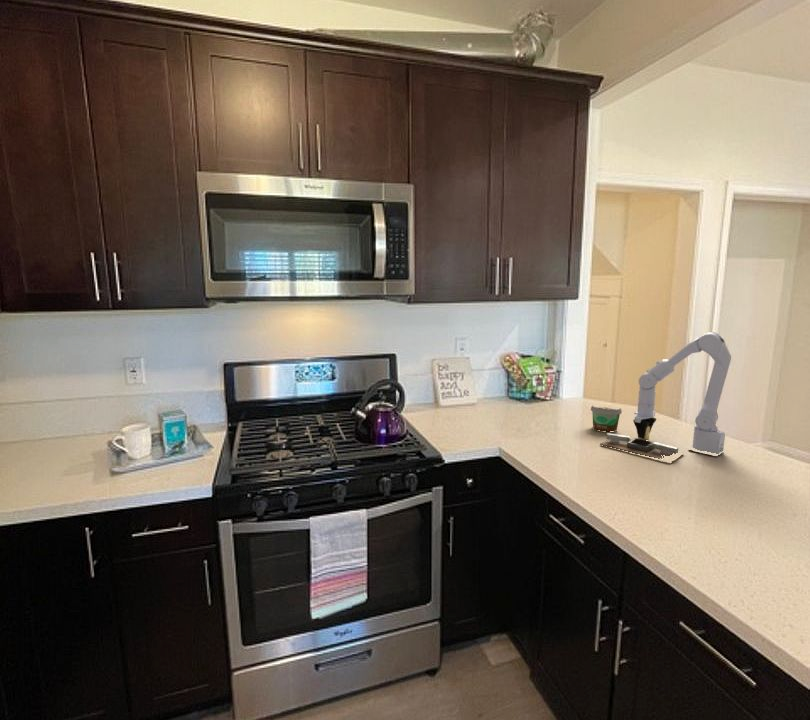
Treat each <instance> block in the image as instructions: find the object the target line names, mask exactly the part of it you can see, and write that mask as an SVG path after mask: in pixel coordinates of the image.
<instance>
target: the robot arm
mask: <svg viewBox="0 0 810 720" xmlns="http://www.w3.org/2000/svg"><path fill="white" fill-rule="evenodd" d="M702 351H703V352H704V353H706V354H708V355H709V356H710V357H711V359H712V360H713V361H714V363H713V367H712V371H711V374H710V378H709V382H708V385H707V390H706V392H705V396H704V400H703V403H702V406H701V409H700V410H699V412H698V414H697V415H696V417H695V421H694V422H695V423H694V424H695V425H694V428H693V436H692V437H693V438H692V439H693V440H692V446H691V447H693V448H695V449H697V450H700V451H707V452H711V453H716V454H719V453H720V452H722V451H724V447H725V441H726V434H725V432H724V431H721V430H719V429H718V428H719V427H718V426H717V425H716V424H717V421H718V420H719V414H718V408H719V404H720V400H721V395H722V393H723V389H724V386H725V382H726V378H727V374H728V371H729V367H730V364H731V361H732V355H731V353H730V351H729V349H728V346H727V345H726V341H725V339H724V338H723V337H722V336H721V335H720V334H719V333H718V332H715V331H709V332H706V333H704V334H703V335H701V336H699V337H697V338H696V339H694V340H692V341H691V342H688V343H687V344H686V345H684V347H683V348H681V349H680V350H679V351H678V352H677V353H675V354H674V355H672V356H671V357H670V358H669V359H661V360H658V361H656V364H655V365H654V366H652V367H650V369H649V368H648V369H646V370H645V371H646V372H645V373H643V374H641V376H640V377H638V378H639V379H638V384H639V391H638V400H637V411H635V412H634V415H635V417H634V419H633V420H632V421H633V423H634V426H635V429H636V434H637V438H638V437H639V438H644V437H645V433H646V429H647V427H648V425H649V426H650V433H649V435H651V431H652V428H653V426H654V424H655V423H656V421H657V418H655V416H656V410H655V403H656V402H655V401H656V386H657V385H658V383H659V382H661V381H663V380H664V379H665V378H666V377H668V376H669V375H670V374H672V373H673V372H675V366H676V365H678V364H679V363H681V362H682V361H683V360H685V359H686V358H688V357H689V356H690V355H692V354H696V353H697V354H698V353H701V352H702Z"/></svg>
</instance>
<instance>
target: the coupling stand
mask: <svg viewBox="0 0 810 720" xmlns="http://www.w3.org/2000/svg"><path fill="white" fill-rule="evenodd" d="M600 445H603V446H607V447H612V448H616V449H620V450H624V451H628V452H632V453H635V454H640V455H645V456H649V457H654V458H658V459H660V458H661V459H662V456H663V455H665V456H670V455H672V454H673V453H674V454H676V453H678V451H679V447H677V446H672V445H669V444H668V445H667V444H664V443H660V442H657V441H656V442H655V441H654V442H653V441H650V440H649V441H646V440H642V439H638V437H637V438H636V437H635V438H633V439H631V436H630V435H623V434H618V433H617V434H616V433H607V432H606V440H603V441H602V442H600V443H599V446H600ZM603 446H602V447H603ZM607 447H606V448H607ZM661 455H662V456H661ZM663 458H664V456H663Z"/></svg>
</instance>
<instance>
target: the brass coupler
mask: <svg viewBox="0 0 810 720" xmlns="http://www.w3.org/2000/svg"><path fill="white" fill-rule="evenodd" d="M649 433H650V434H651V431H650V426H649V425H648V427H647V429H646V433H645V437H644V438H639V437H638V436H637V439H642V440H649V441H650V434H649Z"/></svg>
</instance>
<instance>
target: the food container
mask: <svg viewBox="0 0 810 720" xmlns="http://www.w3.org/2000/svg"><path fill="white" fill-rule="evenodd" d="M590 411H591V414H592V429H593V428H594V429H593V430H595V429H596V430H595V431H597V430H600V431H606V432H605V433H607V432H610V431H615V430H618V426H619V422H620V416H621V414H622V408H621V407H620V408H619V409H615V408H614V409H613V408H610V407H597V406H594V405H593V404H592V405H591V407H590ZM600 431H599V432H600Z"/></svg>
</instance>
